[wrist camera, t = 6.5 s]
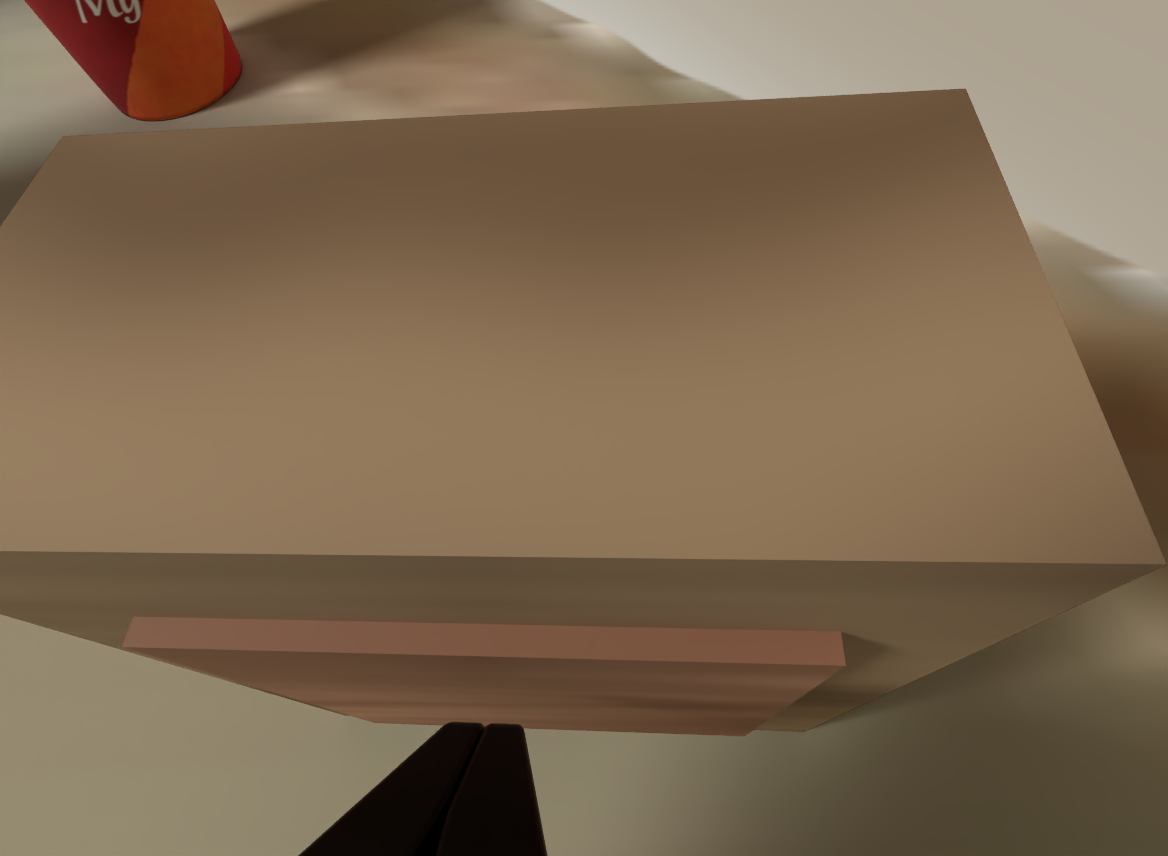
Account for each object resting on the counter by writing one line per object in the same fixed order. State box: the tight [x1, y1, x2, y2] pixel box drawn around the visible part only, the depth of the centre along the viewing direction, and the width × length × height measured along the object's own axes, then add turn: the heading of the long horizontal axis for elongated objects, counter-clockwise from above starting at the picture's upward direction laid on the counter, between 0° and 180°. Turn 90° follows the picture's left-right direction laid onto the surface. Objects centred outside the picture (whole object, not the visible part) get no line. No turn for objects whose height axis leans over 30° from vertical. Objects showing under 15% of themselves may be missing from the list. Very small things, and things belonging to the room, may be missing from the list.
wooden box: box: [0, 89, 1166, 736], centre depth 10 cm, size 5×10×11 cm, turn 88°
